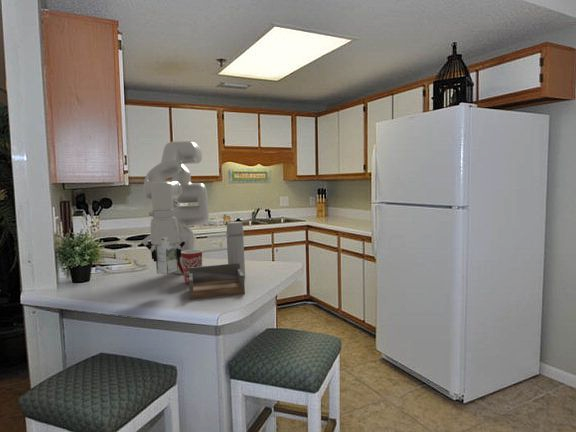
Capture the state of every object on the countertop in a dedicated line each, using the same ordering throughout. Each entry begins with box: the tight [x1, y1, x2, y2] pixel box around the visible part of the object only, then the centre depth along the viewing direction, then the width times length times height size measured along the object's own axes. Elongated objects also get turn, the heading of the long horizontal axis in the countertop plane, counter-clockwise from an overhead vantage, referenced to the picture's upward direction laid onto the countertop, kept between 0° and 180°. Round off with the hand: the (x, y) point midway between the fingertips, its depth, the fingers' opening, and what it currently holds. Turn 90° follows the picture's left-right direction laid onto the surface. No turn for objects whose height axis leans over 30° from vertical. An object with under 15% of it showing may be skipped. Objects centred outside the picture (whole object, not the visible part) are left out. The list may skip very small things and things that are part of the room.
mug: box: [178, 249, 203, 285], centre depth 169 cm, size 13×9×14 cm
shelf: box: [188, 263, 246, 300], centre depth 152 cm, size 14×20×9 cm
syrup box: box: [155, 237, 178, 276], centre depth 149 cm, size 6×6×14 cm
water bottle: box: [225, 221, 246, 281], centre depth 169 cm, size 9×8×25 cm
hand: (166, 259), depth 149 cm, fingers closed on syrup box, 8 cm apart
